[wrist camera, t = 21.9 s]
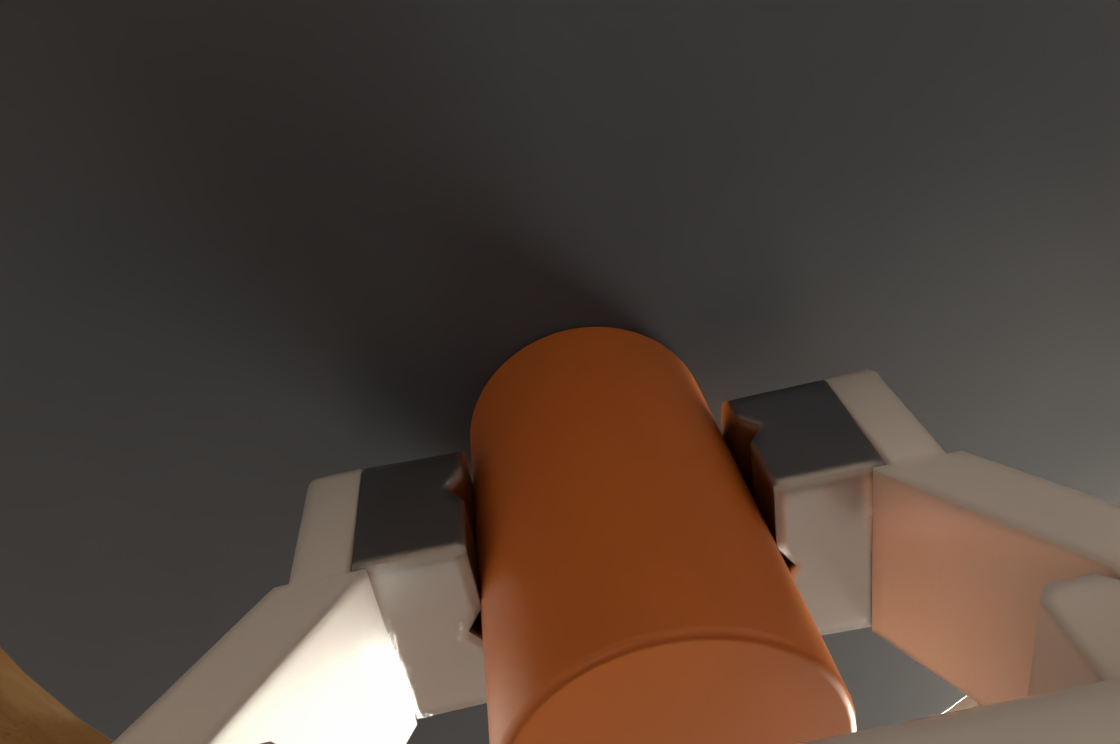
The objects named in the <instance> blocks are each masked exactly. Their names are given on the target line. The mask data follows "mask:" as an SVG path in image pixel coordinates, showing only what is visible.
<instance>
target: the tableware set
mask: <svg viewBox="0 0 1120 744" xmlns="http://www.w3.org/2000/svg"><path fill="white" fill-rule="evenodd" d="M112 743H113V741H111V740H110V739H108V738H107V737H105V736H104V735H102V734H100V733H99V732H97V731H96V730H94V729H93V728H91V727H90V726H88V725H87V724H85V723H84V722H82V721H81V720H79V719H78V718H77V717H76V716H75V715H73V714H72V713H71V712H70V711H69V710H67V709H66V708H65V707H64V706H63V705H62V704H60V703H59V702H58V701H57V700H56V699H54V698H53V697H52V696H51V695H50V694H49V693H47V692H46V691H45V690H44V689H43V688H41V687H40V686H39V685H38V684H37V683H36V682H34V681H33V680H32V679H31V678H30V677H28V676H27V675H26V674H25V673H24V672H23V671H22V670H21V669H20V668H19V667H18V666H17V665H16V664H15V663H14V662H13V661H12V659H11V658H10V657H9V656H8V655H7V654H6V653H5V652H4V651H3V650H2V649H1V648H0V744H112Z"/></svg>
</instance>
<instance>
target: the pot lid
mask: <svg viewBox="0 0 1120 744" xmlns="http://www.w3.org/2000/svg"><path fill="white" fill-rule="evenodd" d="M865 369H869V370H872V371H875V372H876V373H877V374H878V375H879V376H880V377H881V378H882V380H883V381H884V382H885V383H886V384H887V385H888V387H889V388H890V389H891V390H892V391H893V392H894V393H895V395H896V396H897V397H898V398H899V399H900V400H901V401H902V403H903V404H904V405H905V406H906V407H907V408H908V409H909V411H910V412H911V413H912V414H913V415H914V416H915V418H916V419H917V420H918V421H919V422H920V423H921V424H922V426H923V427H924V428H925V429H926V430H927V431H928V432H929V434H930V435H931V436H932V437H933V438H934V439H935V440H936V442H937V443H938V444H939V445H940V446H941V447H942V448H943V450H944V451H945V452H946V453H951V452H957V451H965V452H968V453H971V454H973V455H976V456H979V457H982V458H985V459H988V460H991V461H994V462H997V463H999V464H1002V465H1005V466H1008V467H1011V468H1014V469H1017V470H1020V471H1022V472H1025V473H1028V474H1031V475H1034V476H1037V477H1040V478H1043V479H1045V480H1048V481H1051V482H1054V483H1057V484H1060V485H1063V486H1066V487H1069V488H1071V489H1074V490H1077V491H1080V492H1083V493H1086V494H1089V495H1092V496H1094V497H1097V498H1100V499H1103V500H1106V501H1109V502H1112V503H1115V504H1118V505H1120V0H0V648H1V649H2V650H3V651H4V652H5V653H6V654H7V655H8V656H9V657H10V658H11V659H12V661H13V662H14V663H15V664H16V665H17V666H18V667H19V668H20V669H21V670H22V671H23V672H24V673H25V674H26V675H27V676H28V677H30V678H31V679H32V680H33V681H34V682H36V683H37V684H38V685H39V686H40V687H41V688H43V689H44V690H45V691H46V692H47V693H49V694H50V695H51V696H52V697H53V698H54V699H56V700H57V701H58V702H59V703H60V704H62V705H63V706H64V707H65V708H66V709H67V710H69V711H70V712H71V713H72V714H73V715H75V716H76V717H77V718H78V719H79V720H81V721H82V722H84V723H85V724H87V725H88V726H90V727H91V728H93V729H94V730H96V731H97V732H99V733H100V734H102V735H104V736H105V737H107V738H108V739H110V740H111V741H113V742H114V741H115V740H116V739H117V738H118V737H119V736H120V735H121V734H122V733H123V732H124V731H125V730H126V729H127V728H128V727H129V726H131V725H132V724H133V723H134V722H135V721H136V720H137V719H138V718H139V717H140V716H141V715H142V714H143V713H144V712H145V711H146V710H147V709H148V708H149V707H150V706H151V705H152V704H153V703H154V702H155V701H156V700H157V699H159V698H160V697H161V696H162V695H163V694H164V693H165V692H166V691H167V690H168V689H169V688H170V687H171V686H172V685H173V684H174V683H175V682H176V681H177V680H178V679H179V678H180V677H181V676H182V675H183V674H184V673H185V672H187V671H188V670H189V669H190V668H191V667H192V666H193V665H194V664H195V663H196V662H197V661H198V660H199V659H200V658H201V657H202V656H203V655H204V654H205V653H206V652H207V651H208V650H209V649H210V648H211V647H212V646H214V645H215V644H216V643H217V642H218V641H219V640H220V639H221V638H222V637H223V636H224V635H225V634H226V633H227V632H228V631H229V630H230V629H231V628H232V627H233V626H234V625H235V624H236V623H237V622H238V621H239V620H240V619H242V618H243V617H244V616H245V615H246V614H247V613H248V612H249V611H250V610H251V609H252V608H253V607H254V606H255V605H256V604H257V603H258V602H259V601H260V600H261V599H262V598H263V597H264V596H265V595H266V594H267V593H268V592H270V591H271V590H272V589H273V588H274V587H278V586H283V585H288V584H289V580H290V575H291V570H292V565H293V560H294V555H295V550H296V545H297V540H298V535H299V530H300V525H301V520H302V515H303V510H304V505H305V500H306V495H307V490H308V486H309V484H310V483H311V482H312V481H313V480H314V479H315V478H319V477H323V476H328V475H333V474H338V473H343V472H347V471H352V470H357V469H362V470H365V469H366V468H370V467H376V466H382V465H388V464H393V463H399V462H405V461H410V460H416V459H422V458H427V457H433V456H439V455H444V454H450V453H456V452H461V451H463V452H464V454H465V457H466V459H467V463H468V467H469V470H470V474H471V478H472V481H473V486H474V500H475V515H476V541H477V552H478V561H479V577H480V592H481V619H482V635H483V650H484V666H485V681H486V697H487V703H484V704H480V705H476V706H472V707H467V708H463V709H459V710H454V711H450V712H446V713H441V714H437V715H433V716H428V717H424V718H420V719H416V722H417V726H416V727H415V729H414V731H413V733H412V734H411V736H410V738H409V739H408V741H407V743H406V744H799V743H804V742H808V741H813V740H818V739H823V738H828V737H832V736H837V735H842V734H847V733H852V732H857V731H862V730H866V729H871V728H876V727H881V726H886V725H891V724H896V723H901V722H906V721H910V720H915V719H920V718H925V717H930V716H935V715H940V714H943V713H945V712H946V711H948V710H949V709H951V708H952V707H953V706H954V705H956V704H957V703H958V702H960V701H961V700H962V699H963V698H965V697H966V696H967V695H965V694H964V693H962V692H961V691H959V690H958V689H956V688H955V687H953V686H952V685H951V684H949V683H948V682H946V681H945V680H943V679H942V678H940V677H939V676H937V675H936V674H934V673H933V672H931V671H930V670H929V669H927V668H926V667H924V666H923V665H921V664H920V663H918V662H917V661H915V660H914V659H912V658H911V657H909V656H908V655H907V654H905V653H904V652H902V651H901V650H899V649H898V648H896V647H895V646H893V645H892V644H890V643H889V642H888V641H886V640H885V639H883V638H882V637H880V636H879V635H877V634H876V633H874V632H873V631H872V627H867V628H861V629H856V630H850V631H844V632H839V633H833V634H827V635H822V636H821V634H820V632H819V630H818V628H817V626H816V624H815V622H814V620H813V618H812V616H811V614H810V612H809V610H808V608H807V606H806V604H805V602H804V600H803V598H802V596H801V594H800V592H799V590H798V588H797V586H796V584H795V582H794V580H793V578H792V576H791V573H790V571H789V569H788V567H787V565H786V563H785V561H784V559H783V557H782V555H781V553H780V551H779V549H778V547H777V545H776V543H775V541H774V539H773V537H772V535H771V533H770V531H769V529H768V527H767V525H766V523H765V521H764V519H763V517H762V515H761V513H760V511H759V508H758V506H757V504H756V502H755V500H754V498H753V496H752V494H751V492H750V490H749V488H748V486H747V484H746V482H745V480H744V478H743V476H742V474H741V472H740V470H739V468H738V466H737V464H736V462H735V460H734V458H733V456H732V454H731V452H730V450H729V448H728V446H727V443H726V441H725V439H724V437H723V435H722V425H721V406H722V402H725V401H729V400H734V399H738V398H743V397H747V396H752V395H756V394H761V393H765V392H770V391H774V390H779V389H783V388H788V387H792V386H797V385H801V384H806V383H810V382H815V381H819V380H822V379H826V378H831V377H835V376H839V375H843V374H848V373H852V372H856V371H860V370H865Z"/></svg>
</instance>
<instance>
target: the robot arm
mask: <svg viewBox="0 0 1120 744" xmlns="http://www.w3.org/2000/svg"><path fill="white" fill-rule="evenodd" d="M721 425H722V435H723V437H724V439H725V441H726V443H727V446H728V448H729V450H730V452H731V454H732V456H733V458H734V460H735V462H736V464H737V466H738V468H739V470H740V472H741V474H742V476H743V478H744V480H745V482H746V484H747V486H748V488H749V490H750V492H751V494H752V496H753V498H754V500H755V502H756V504H757V506H758V508H759V511H760V513H761V515H762V517H763V519H764V521H765V523H766V525H767V527H768V529H769V531H770V533H771V535H772V537H773V539H774V541H775V543H776V545H777V547H778V549H779V551H780V553H781V555H782V557H783V559H784V561H785V563H786V565H787V567H788V569H789V571H790V573H791V576H792V578H793V580H794V582H795V584H796V586H797V588H798V590H799V592H800V594H801V596H802V598H803V600H804V602H805V604H806V606H807V608H808V610H809V612H810V614H811V616H812V618H813V620H814V622H815V624H816V626H817V628H818V630H819V632H820V634H821V636H822V635H827V634H833V633H839V632H844V631H850V630H856V629H861V628H867V627H872V631H873V632H874V633H876V634H877V635H879V636H880V637H882V638H883V639H885V640H886V641H888V642H889V643H890V644H892V645H893V646H895V647H896V648H898V649H899V650H901V651H902V652H904V653H905V654H907V655H908V656H909V657H911V658H912V659H914V660H915V661H917V662H918V663H920V664H921V665H923V666H924V667H926V668H927V669H929V670H930V671H931V672H933V673H934V674H936V675H937V676H939V677H940V678H942V679H943V680H945V681H946V682H948V683H949V684H951V685H952V686H953V687H955V688H956V689H958V690H959V691H961V692H962V693H964V694H965V695H967V696H968V697H970V698H971V699H972V700H974V701H975V702H977V703H978V704H980V705H981V706H979V707H974V708H969V709H964V710H959V711H954V712H949V713H945V714H940V715H935V716H930V717H925V718H920V719H915V720H910V721H906V722H901V723H896V724H891V725H886V726H881V727H876V728H871V729H866V730H862V731H857V732H852V733H847V734H842V735H837V736H832V737H828V738H823V739H818V740H813V741H808V742H804V743H799V744H1120V505H1118V504H1115V503H1112V502H1109V501H1106V500H1103V499H1100V498H1097V497H1094V496H1092V495H1089V494H1086V493H1083V492H1080V491H1077V490H1074V489H1071V488H1069V487H1066V486H1063V485H1060V484H1057V483H1054V482H1051V481H1048V480H1045V479H1043V478H1040V477H1037V476H1034V475H1031V474H1028V473H1025V472H1022V471H1020V470H1017V469H1014V468H1011V467H1008V466H1005V465H1002V464H999V463H997V462H994V461H991V460H988V459H985V458H982V457H979V456H976V455H973V454H971V453H968V452H965V451H957V452H951V453H946V452H945V451H944V450H943V448H942V447H941V446H940V445H939V444H938V443H937V442H936V440H935V439H934V438H933V437H932V436H931V435H930V434H929V432H928V431H927V430H926V429H925V428H924V427H923V426H922V424H921V423H920V422H919V421H918V420H917V419H916V418H915V416H914V415H913V414H912V413H911V412H910V411H909V409H908V408H907V407H906V406H905V405H904V404H903V403H902V401H901V400H900V399H899V398H898V397H897V396H896V395H895V393H894V392H893V391H892V390H891V389H890V388H889V387H888V385H887V384H886V383H885V382H884V381H883V380H882V378H881V377H880V376H879V375H878V374H877V373H876V372H875V371H872V370H869V369H865V370H860V371H856V372H852V373H848V374H843V375H839V376H835V377H831V378H826V379H822V380H819V381H815V382H810V383H806V384H801V385H797V386H792V387H788V388H783V389H779V390H774V391H770V392H765V393H761V394H756V395H752V396H747V397H743V398H738V399H734V400H729V401H725V402H722V406H721ZM484 703H487V697H486V681H485V666H484V650H483V635H482V619H481V592H480V577H479V561H478V552H477V541H476V515H475V500H474V486H473V481H472V478H471V474H470V470H469V467H468V463H467V459H466V457H465V454H464V452H463V451H461V452H456V453H450V454H444V455H439V456H433V457H427V458H422V459H416V460H410V461H405V462H399V463H393V464H388V465H382V466H376V467H370V468H366V469H365V470H362V469H357V470H352V471H347V472H343V473H338V474H333V475H328V476H323V477H319V478H315V479H314V480H313V481H312V482H311V483H310V484H309V486H308V490H307V495H306V500H305V505H304V510H303V515H302V520H301V525H300V530H299V535H298V540H297V545H296V550H295V555H294V560H293V565H292V570H291V575H290V580H289V584H288V585H283V586H278V587H274V588H273V589H272V590H271V591H270V592H268V593H267V594H266V595H265V596H264V597H263V598H262V599H261V600H260V601H259V602H258V603H257V604H256V605H255V606H254V607H253V608H252V609H251V610H250V611H249V612H248V613H247V614H246V615H245V616H244V617H243V618H242V619H240V620H239V621H238V622H237V623H236V624H235V625H234V626H233V627H232V628H231V629H230V630H229V631H228V632H227V633H226V634H225V635H224V636H223V637H222V638H221V639H220V640H219V641H218V642H217V643H216V644H215V645H214V646H212V647H211V648H210V649H209V650H208V651H207V652H206V653H205V654H204V655H203V656H202V657H201V658H200V659H199V660H198V661H197V662H196V663H195V664H194V665H193V666H192V667H191V668H190V669H189V670H188V671H187V672H185V673H184V674H183V675H182V676H181V677H180V678H179V679H178V680H177V681H176V682H175V683H174V684H173V685H172V686H171V687H170V688H169V689H168V690H167V691H166V692H165V693H164V694H163V695H162V696H161V697H160V698H159V699H157V700H156V701H155V702H154V703H153V704H152V705H151V706H150V707H149V708H148V709H147V710H146V711H145V712H144V713H143V714H142V715H141V716H140V717H139V718H138V719H137V720H136V721H135V722H134V723H133V724H132V725H131V726H129V727H128V728H127V729H126V730H125V731H124V732H123V733H122V734H121V735H120V736H119V737H118V738H117V739H116V740H115V741H114V742H113V743H112V744H406V743H407V741H408V739H409V738H410V736H411V734H412V733H413V731H414V729H415V727H416V726H417V722H416V719H420V718H424V717H428V716H433V715H437V714H441V713H446V712H450V711H454V710H459V709H463V708H467V707H472V706H476V705H480V704H484Z"/></svg>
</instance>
